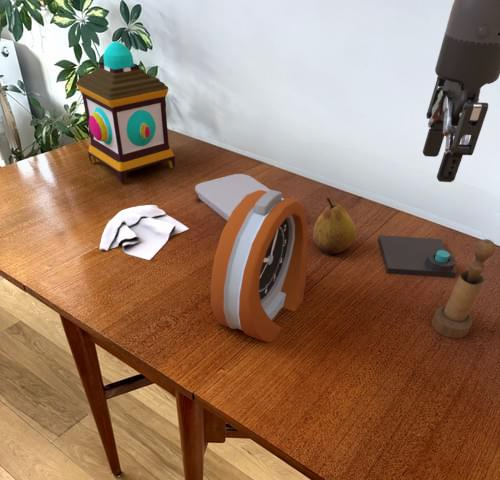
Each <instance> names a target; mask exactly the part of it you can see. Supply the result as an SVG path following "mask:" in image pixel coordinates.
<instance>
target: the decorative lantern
mask: <svg viewBox="0 0 500 480" xmlns="http://www.w3.org/2000/svg"><path fill="white" fill-rule="evenodd" d="M75 86H76V88H77V89H78V91H79V92H80V94H81V96H82V102H83V107H84V112H85V117H86V123H87V126H88V127H87V128H88V133H89V138H90V143H89V146H88V150H87V155H88V159H89V161H90V163H91V164H96V162H97V160H98V161H99V162H100V163H102V164H104V165H106V167H108V168H110V169H111V170H113V171H115V172H116V174H117V175H118V179H119V182H120V183H121V184H125V183H126V175H127V174H129V173H130V172H133V171H137V170H140V169H144V168H147V167H151V166H153V165H158V164H161V163H164V162H168V166H169V168H170V169H174V168H175V167H176V157H175V154H174V152H173V150H172V149H171V147H170V143H169V133H168V132H169V131H168V119H167V106H166V105H167V104H166V97H167V95H168V92H169V87H168V86H167V85H166V83H164V82H163V81H161V80H160V78H158V77H156V76H153V75H151V74H149V73H147V72H145V70H144V69H142V68H140V65H139V64H136V63H134V56H133V53H132V52H131V51H130V49H129V48H128V47H127V46H126V45H124V43H122V42H120V41H117V40H116V41H113V42H110V43H109V44H108V46H107V47H106V48H105V50H104V52H103V62H99V66H97V67H95V70H91V72H89V73H84V74H82V75H81V77H79V78H78V79H77V80H76V81H75Z"/></svg>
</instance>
